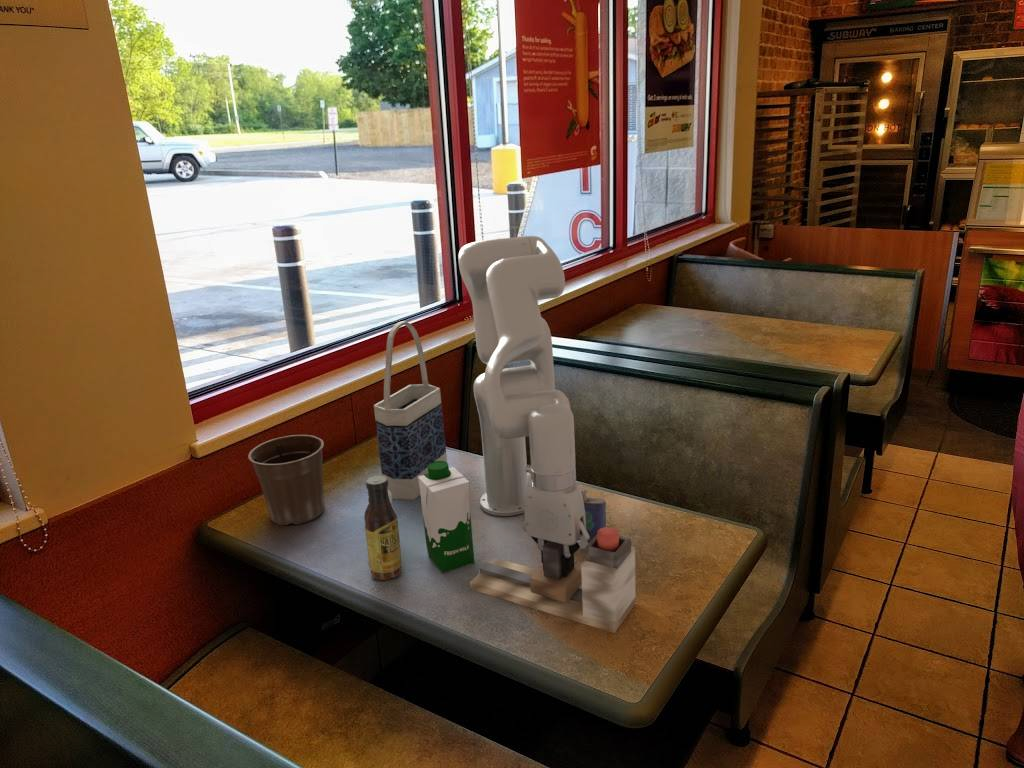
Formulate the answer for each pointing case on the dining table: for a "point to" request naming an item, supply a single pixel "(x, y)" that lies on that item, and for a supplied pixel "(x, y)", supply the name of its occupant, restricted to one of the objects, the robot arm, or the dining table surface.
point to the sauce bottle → (382, 531)
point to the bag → (408, 427)
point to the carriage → (555, 575)
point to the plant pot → (291, 477)
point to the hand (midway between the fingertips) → (558, 569)
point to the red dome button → (608, 539)
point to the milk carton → (446, 517)
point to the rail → (594, 601)
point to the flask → (594, 514)
